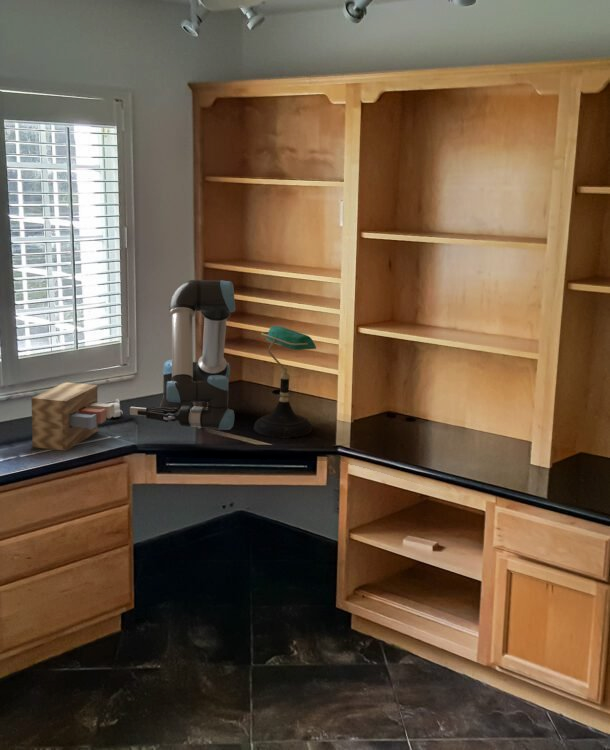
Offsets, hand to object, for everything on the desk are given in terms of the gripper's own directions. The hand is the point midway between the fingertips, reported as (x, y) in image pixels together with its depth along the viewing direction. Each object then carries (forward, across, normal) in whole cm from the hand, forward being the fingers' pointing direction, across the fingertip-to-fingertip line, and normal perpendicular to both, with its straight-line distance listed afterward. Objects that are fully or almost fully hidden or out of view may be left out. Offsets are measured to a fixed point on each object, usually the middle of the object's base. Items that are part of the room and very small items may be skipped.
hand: (130, 410), depth 324 cm
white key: (+13, 0, -3) cm, 14 cm away
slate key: (+13, -16, -3) cm, 21 cm away
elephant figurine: (+18, +25, -11) cm, 33 cm away
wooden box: (+22, -8, -11) cm, 26 cm away
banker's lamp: (-51, +31, -11) cm, 61 cm away
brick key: (+13, -8, -3) cm, 16 cm away
